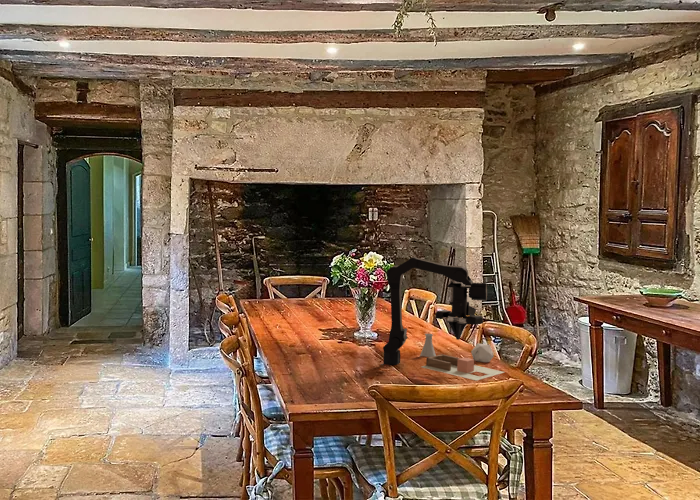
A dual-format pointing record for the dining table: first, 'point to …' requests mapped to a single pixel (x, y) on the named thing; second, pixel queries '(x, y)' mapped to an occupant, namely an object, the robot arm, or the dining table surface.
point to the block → (465, 365)
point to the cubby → (442, 361)
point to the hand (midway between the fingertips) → (458, 339)
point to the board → (466, 375)
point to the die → (482, 353)
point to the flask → (428, 347)
